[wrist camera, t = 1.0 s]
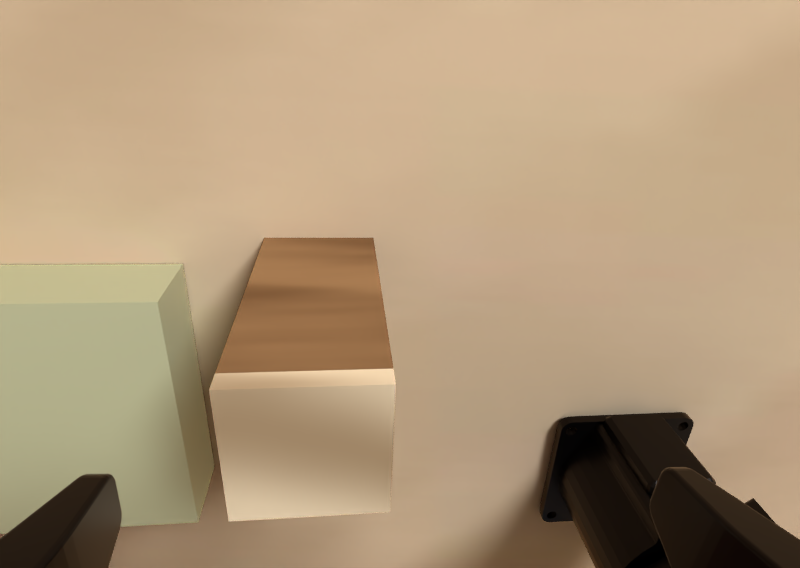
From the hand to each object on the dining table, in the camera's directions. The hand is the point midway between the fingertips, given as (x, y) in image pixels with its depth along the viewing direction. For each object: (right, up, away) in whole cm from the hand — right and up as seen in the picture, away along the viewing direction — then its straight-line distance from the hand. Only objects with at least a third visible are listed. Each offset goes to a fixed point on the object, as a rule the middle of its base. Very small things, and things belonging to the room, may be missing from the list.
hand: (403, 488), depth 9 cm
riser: (-14, 0, +12) cm, 19 cm away
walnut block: (-3, +3, +12) cm, 13 cm away
